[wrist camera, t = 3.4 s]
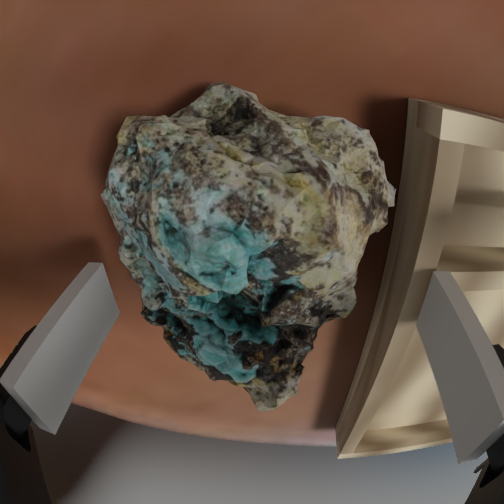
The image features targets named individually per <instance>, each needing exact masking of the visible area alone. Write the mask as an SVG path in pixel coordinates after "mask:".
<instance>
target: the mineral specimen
mask: <svg viewBox="0 0 504 504" xmlns="http://www.w3.org/2000/svg"><path fill="white" fill-rule="evenodd" d="M116 138H117V140H118V146H117V149H116V151H115V154H114V156H113V159H112V161H111V164H110V167H109V171H108V174H107V178H106V182H105V185H106V188H105V189H104V191H103V192H102V194H101V195H100V196H101V198H102V199H103V201H104V203H105V205H106V207H107V209H108V211H109V214H110V216H111V218H112V220H113V223H114V225H115V227H116V229H117V232H118V234H119V236H120V238H121V241H120V245H119V250H118V253H119V256H120V260H121V261H122V262H123V264H124V265H125V266H126V267H127V268H128V269H129V270H130V276H131V279H134V280H135V281H136V283H137V284H138V285H139V287H140V288H141V298H142V302H143V303H142V311H141V314H142V316H143V317H144V318H145V320H146V321H147V322H148V323H150V324H152V325H155V326H162V327H163V328H164V335H163V338H164V339H165V341H166V342H167V344H168V345H169V346H170V347H171V348H172V350H173V351H174V352H175V353H176V354H177V355H178V356H179V357H180V358H182V359H184V360H186V361H188V362H190V363H192V364H194V365H196V366H197V367H198V369H199V370H204V371H205V372H206V374H207V375H208V376H209V378H210V379H211V380H212V381H213V382H214V381H216V380H225V381H227V382H229V383H231V384H233V385H236V386H241V387H243V388H244V389H245V390H246V391H247V392H248V393H249V394H250V395H251V398H252V400H253V402H254V404H255V406H256V408H257V409H258V411H268V410H275V409H277V408H278V407H279V406H280V405H281V404H283V403H284V402H285V401H286V400H287V399H288V398H290V397H291V396H295V395H298V392H297V383H298V382H299V380H300V379H301V375H302V372H303V370H304V366H302V364H301V363H302V362H303V361H304V359H305V357H306V356H307V355H308V354H309V353H310V351H311V350H312V349H313V348H314V347H313V342H314V340H315V338H316V337H317V331H318V329H319V328H320V327H321V326H322V325H323V324H324V323H325V322H327V321H330V320H333V319H337V318H346V317H347V316H348V315H349V314H350V312H351V311H352V310H353V308H354V306H355V304H356V302H357V298H356V294H355V290H354V286H355V283H356V280H357V277H358V272H357V267H358V264H359V262H360V260H361V258H362V256H363V253H364V250H365V247H366V244H367V241H368V238H369V236H370V235H371V234H372V233H374V232H379V231H380V230H381V229H382V228H383V227H384V226H386V225H387V224H388V220H387V215H388V208H389V207H392V206H394V202H395V192H396V189H395V188H394V187H393V186H392V185H391V184H390V183H389V182H388V181H387V178H386V175H385V168H384V161H383V160H382V159H381V158H380V157H379V156H378V150H377V147H376V144H375V142H374V140H373V138H372V137H371V135H370V132H369V130H367V129H364V128H361V127H358V126H356V125H354V124H353V123H351V122H349V121H348V120H346V119H344V118H340V117H331V116H317V117H311V118H306V117H297V116H285V115H283V114H280V113H277V112H274V111H271V110H268V109H267V108H266V107H264V106H263V105H262V104H260V103H259V102H258V99H257V95H255V94H253V93H251V92H248V91H246V90H243V89H240V88H237V87H234V86H231V85H228V84H226V83H225V82H218V83H213V84H210V85H209V86H208V87H207V88H206V90H205V91H204V92H203V93H202V95H201V96H200V97H199V98H198V99H196V100H195V101H194V102H193V103H191V104H190V105H189V106H187V107H185V108H183V109H181V110H179V111H177V112H176V113H175V114H173V115H172V116H171V117H167V116H166V115H162V116H158V117H153V116H144V115H133V116H128V117H126V119H125V121H124V123H123V125H122V127H121V128H120V130H119V132H118V134H117V136H116Z"/></svg>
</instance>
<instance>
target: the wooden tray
mask: <svg viewBox="0 0 504 504" xmlns="http://www.w3.org/2000/svg"><path fill="white" fill-rule="evenodd" d="M433 271H450V273H451V274H452V276H453V278H454V279H455V281H456V282H457V284H458V286H459V287H460V289H461V290H462V292H463V294H464V295H465V297H466V299H467V300H468V302H469V304H470V305H471V307H472V309H473V311H474V312H475V314H476V316H477V318H478V319H479V321H480V323H481V325H482V327H483V329H484V330H485V332H486V334H487V336H488V338H489V340H490V342H491V344H492V345H496V344H499V345H500V346H501V347H502V348H503V349H504V119H503V118H499V117H496V116H492V115H488V114H485V113H481V112H477V111H473V110H469V109H464V108H460V107H455V106H451V105H446V104H441V103H436V102H430V101H425V100H419V99H413V98H408V112H407V125H406V137H405V147H404V156H403V164H402V172H401V180H400V187H399V193H398V200H397V206H396V212H395V218H394V224H393V229H392V234H391V239H390V244H389V249H388V254H387V259H386V263H385V268H384V272H383V277H382V281H381V285H380V289H379V293H378V297H377V301H376V305H375V309H374V312H373V316H372V320H371V323H370V327H369V330H368V334H367V337H366V341H365V344H364V347H363V351H362V354H361V357H360V360H359V363H358V366H357V369H356V372H355V375H354V378H353V381H352V384H351V387H350V390H349V393H348V395H347V398H346V401H345V404H344V406H343V409H342V412H341V414H340V417H339V420H338V422H337V425H336V427H335V428H336V443H337V458H338V459H340V458H351V457H352V458H353V457H364V456H373V455H382V454H389V453H397V452H403V451H409V450H415V449H420V448H426V447H431V446H435V445H440V444H445V443H449V442H453V440H452V436H451V432H450V428H449V424H448V421H447V417H446V414H445V410H444V407H443V403H442V400H441V397H440V393H439V390H438V387H437V384H436V381H435V378H434V375H433V372H432V369H431V366H430V363H429V360H428V357H427V354H426V351H425V349H424V346H423V343H422V340H421V338H420V335H419V332H418V330H417V327H416V322H417V319H418V316H419V314H420V311H421V308H422V305H423V302H424V299H425V296H426V293H427V290H428V287H429V284H430V280H431V277H432V274H433Z"/></svg>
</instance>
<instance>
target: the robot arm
mask: <svg viewBox="0 0 504 504" xmlns="http://www.w3.org/2000/svg"><path fill="white" fill-rule="evenodd" d="M119 315H120V312H119V309H118V306H117V304H116V301H115V298H114V295H113V292H112V289H111V286H110V283H109V280H108V277H107V274H106V271H105V268H104V265H103V263H94V262H88V263H87V265H86V266H85V267H84V268H83V269H82V270H81V272H80V273H79V274H78V275H77V276H76V277H75V279H74V280H73V281H72V282H71V283H70V285H69V286H68V287H67V288H66V290H65V291H64V292H63V293H62V294H61V296H60V297H59V298H58V299H57V301H56V302H55V303H54V304H53V306H52V307H51V308H50V310H49V311H48V312H47V313H46V315H45V316H44V317H43V319H42V320H41V321H40V323H39V324H38V325H37V326H36V325H35V326H34V327H33V328H31V329H30V330H29V331H28V332H26V333H25V335H24V336H23V337H22V339H21V340H20V341H19V343H18V345H16V347H15V348H14V350H13V353H11V354H10V355H9V357H8V358H7V360H6V361H5V363H4V364H3V366H2V367H1V368H0V504H52V503H51V500H50V496H49V493H48V490H47V487H46V483H45V480H44V477H43V472H42V469H41V465H40V461H39V456H38V453H37V448H36V443H35V438H34V434H33V430H32V427H31V426H30V425H29V424H30V422H31V420H33V421H34V422H35V423H36V424H37V425H38V426H39V427H40V428H41V429H43V430H46V431H48V432H50V433H53V434H56V432H57V430H58V428H59V426H60V424H61V422H62V420H63V418H64V416H65V414H66V411H67V410H68V408H69V405H70V404H71V402H72V400H73V398H74V396H75V394H76V392H77V390H78V388H79V386H80V384H81V382H82V380H83V379H84V377H85V375H86V373H87V371H88V369H89V367H90V366H91V364H92V362H93V360H94V358H95V356H96V355H97V353H98V351H99V349H100V348H101V346H102V344H103V342H104V340H105V339H106V337H107V335H108V333H109V332H110V330H111V328H112V327H113V325H114V323H115V321H116V320H117V318H118V316H119ZM416 327H417V330H418V332H419V335H420V338H421V340H422V343H423V346H424V349H425V351H426V354H427V357H428V360H429V363H430V366H431V369H432V372H433V375H434V378H435V381H436V384H437V387H438V390H439V393H440V397H441V400H442V403H443V407H444V410H445V414H446V417H447V421H448V424H449V428H450V432H451V436H452V440H453V443H454V448H455V452H456V456H457V461H458V464H461V463H465V462H468V461H472V460H475V459H477V458H478V457H480V456H481V455H482V454H483V453H484V452H485V451H487V455H488V459H487V460H485V461H484V462H483V463H482V464H481V465H480V466H478V467H477V468H476V469H475V471H474V473H477V472H478V471H479V470H481V469H482V470H481V472H480V475H479V477H478V479H477V481H476V483H475V485H474V487H473V489H472V491H471V493H470V495H469V497H468V499H467V500H466V502H465V504H504V349H503V348H502V347H501V346H500V345H499V344H496V345H492V344H491V342H490V340H489V338H488V336H487V334H486V332H485V330H484V329H483V327H482V325H481V323H480V321H479V319H478V318H477V316H476V314H475V312H474V311H473V309H472V307H471V305H470V304H469V302H468V300H467V299H466V297H465V295H464V294H463V292H462V290H461V289H460V287H459V286H458V284H457V282H456V281H455V279H454V278H453V276H452V274H451V273H450V271H433V274H432V277H431V280H430V284H429V287H428V290H427V293H426V296H425V299H424V302H423V305H422V308H421V311H420V314H419V316H418V319H417V322H416Z"/></svg>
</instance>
